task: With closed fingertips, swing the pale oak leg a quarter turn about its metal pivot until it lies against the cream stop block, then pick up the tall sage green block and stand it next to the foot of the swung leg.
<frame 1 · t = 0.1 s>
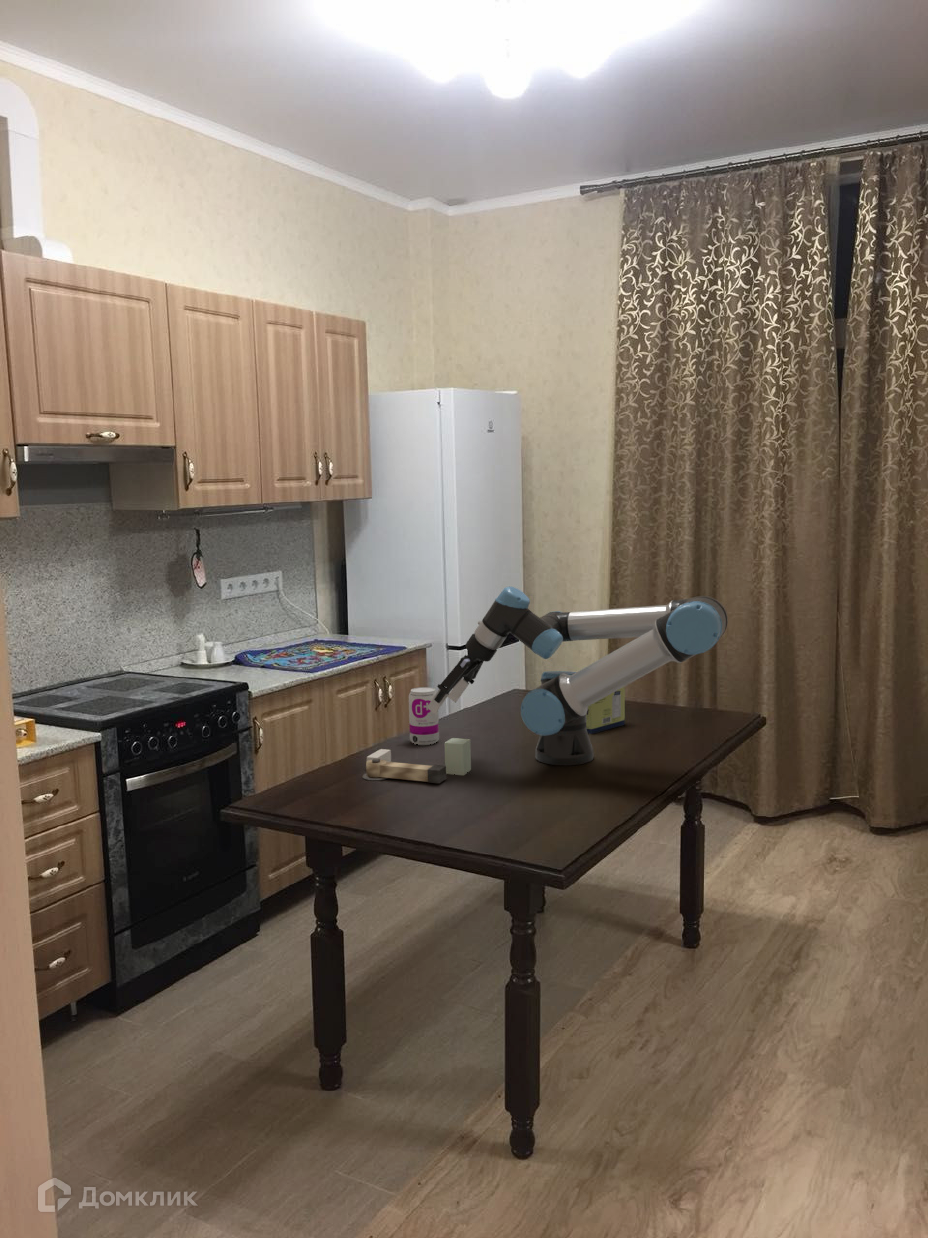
hand: (441, 704, 270), 15 cm above the table, tool tilted 35°, fingers open, 13 cm apart
pivot plate: (376, 776, 261), on the table
tall sage green block: (458, 771, 264), on the table
supplement can: (424, 742, 293), on the table
protein box: (594, 727, 307), on the table
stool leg: (404, 769, 258), point 2 cm above the table, hinge at 0.0°
stop block: (379, 765, 271), on the table
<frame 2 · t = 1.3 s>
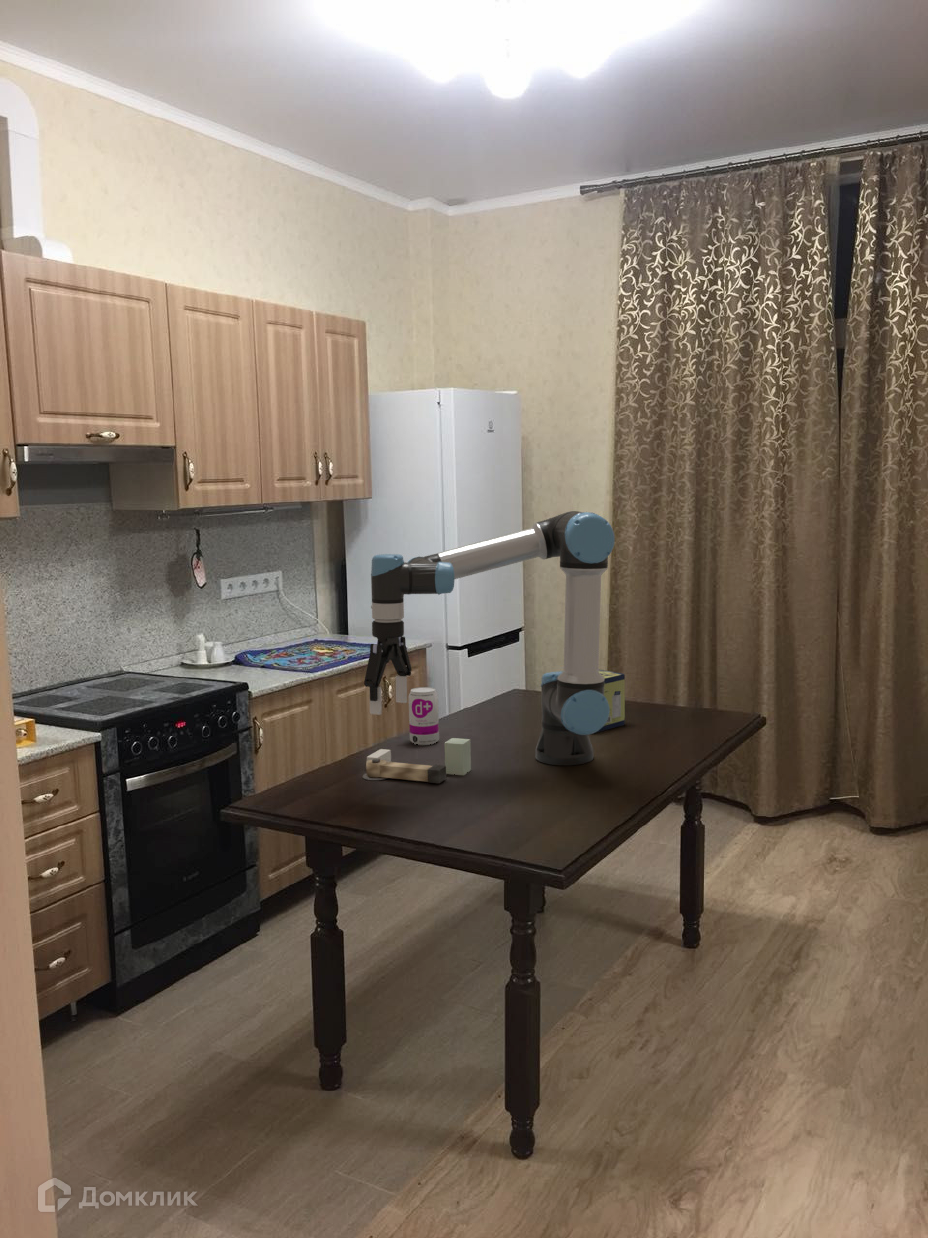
hand: (388, 708, 249), 20 cm above the table, tool pointing down, fingers open, 13 cm apart
nothing on the table moved.
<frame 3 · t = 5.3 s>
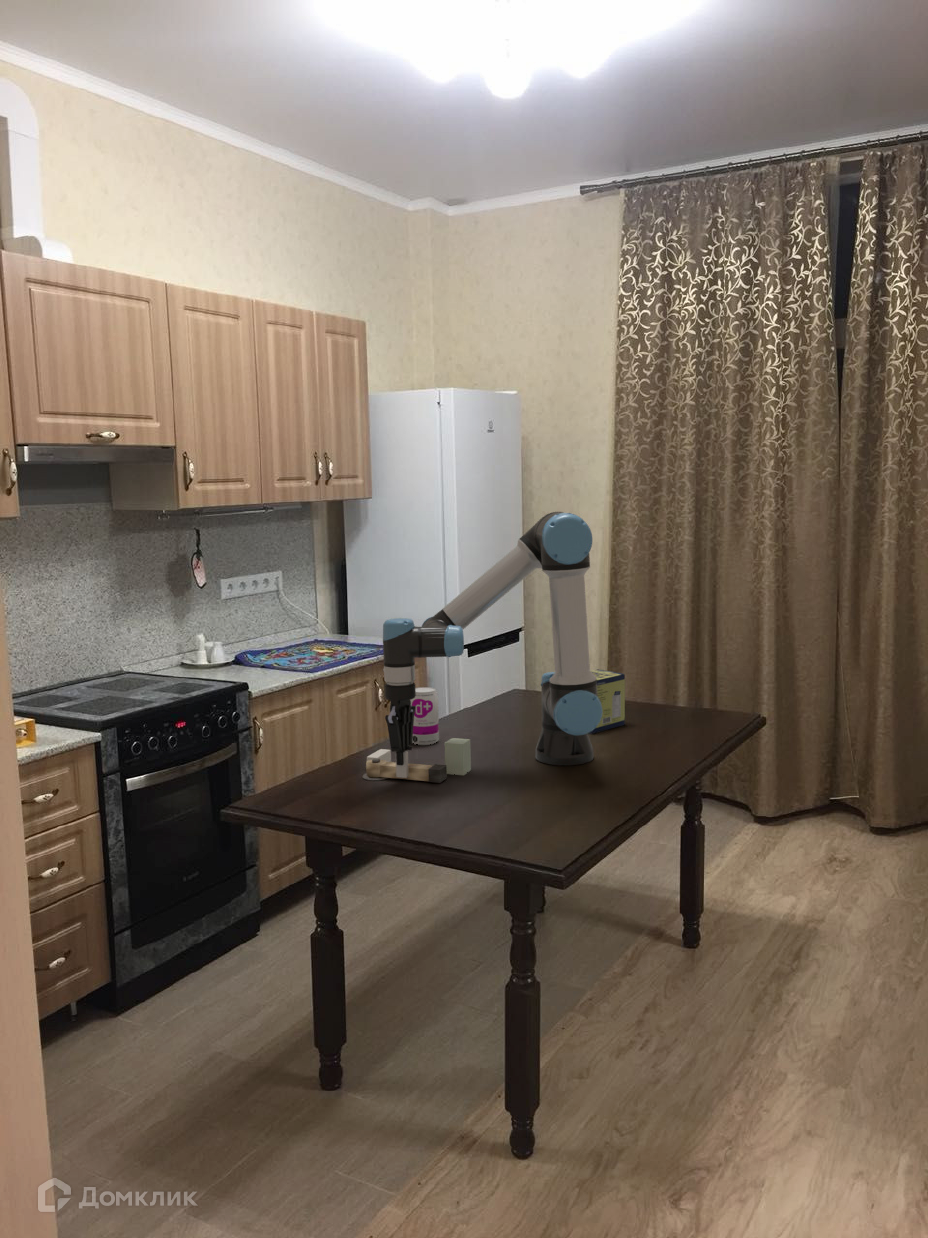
hand: (402, 776, 256), 1 cm above the table, tool pointing down, fingers closed
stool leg: (404, 769, 258), point 2 cm above the table, hinge at 1.7°, touching gripper
everything else where it was.
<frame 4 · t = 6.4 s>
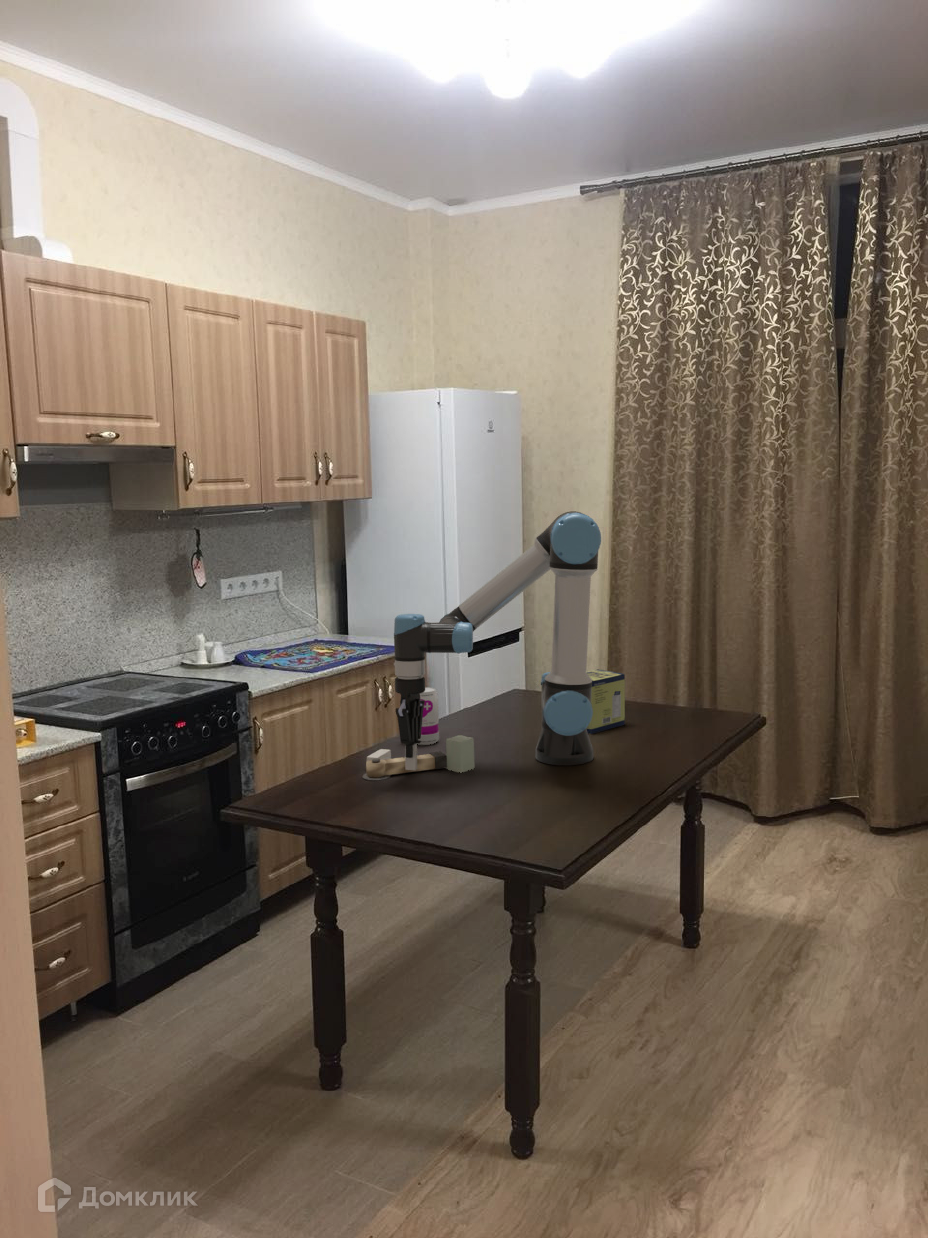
hand: (411, 769, 261), 2 cm above the table, tool pointing down, fingers closed
tall sage green block: (460, 769, 266), on the table
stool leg: (405, 763, 264), point 2 cm above the table, hinge at 43.6°, touching gripper
everything else where it was.
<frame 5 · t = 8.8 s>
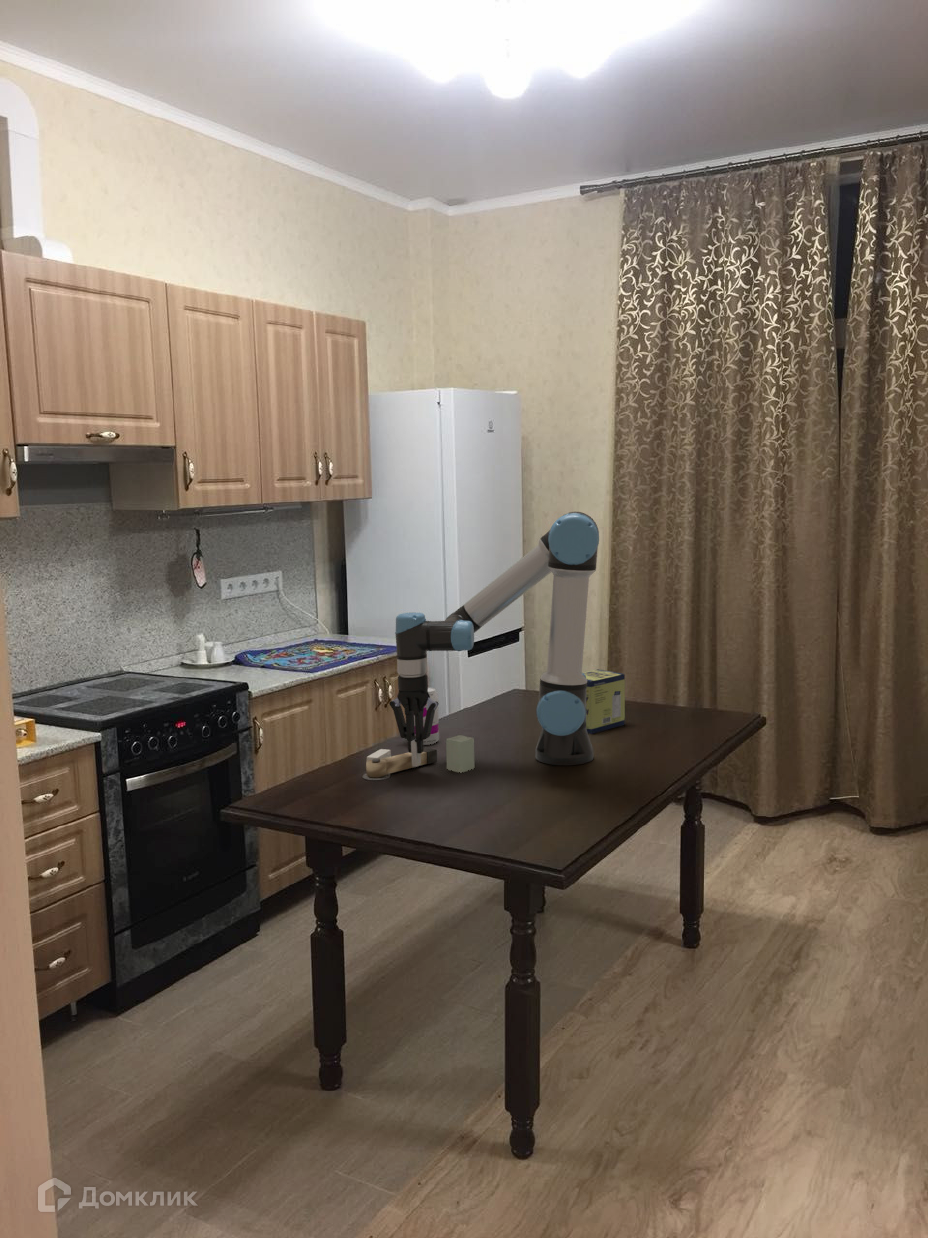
hand: (416, 765, 266), 1 cm above the table, tool pointing down, fingers closed
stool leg: (400, 760, 266), point 2 cm above the table, hinge at 63.7°, touching gripper
everything else where it was.
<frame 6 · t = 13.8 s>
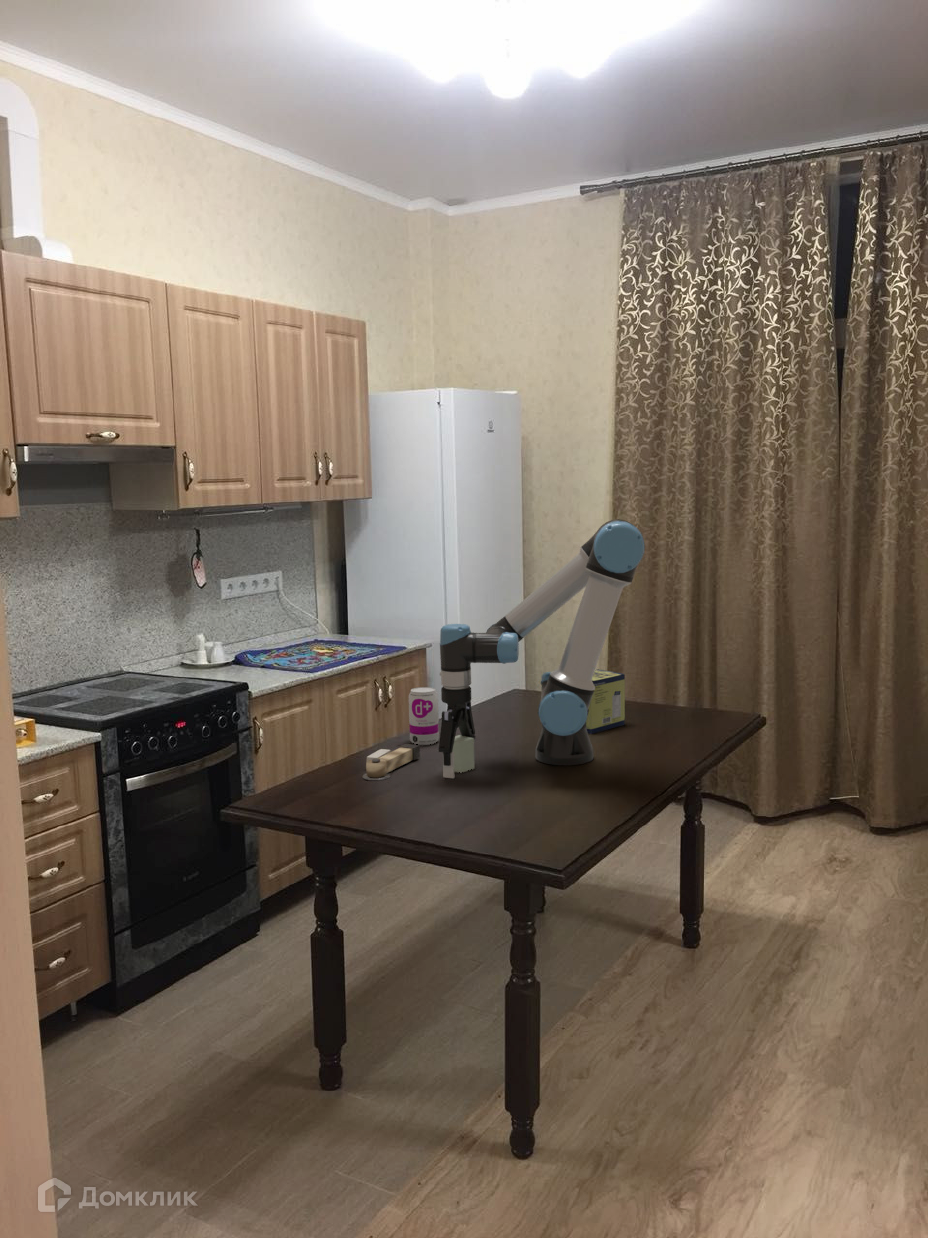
hand: (458, 771, 264), 0 cm above the table, tool pointing down, fingers open, 11 cm apart
tall sage green block: (460, 769, 266), on the table, touching gripper
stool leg: (392, 759, 268), point 2 cm above the table, hinge at 84.5°
everything else where it was.
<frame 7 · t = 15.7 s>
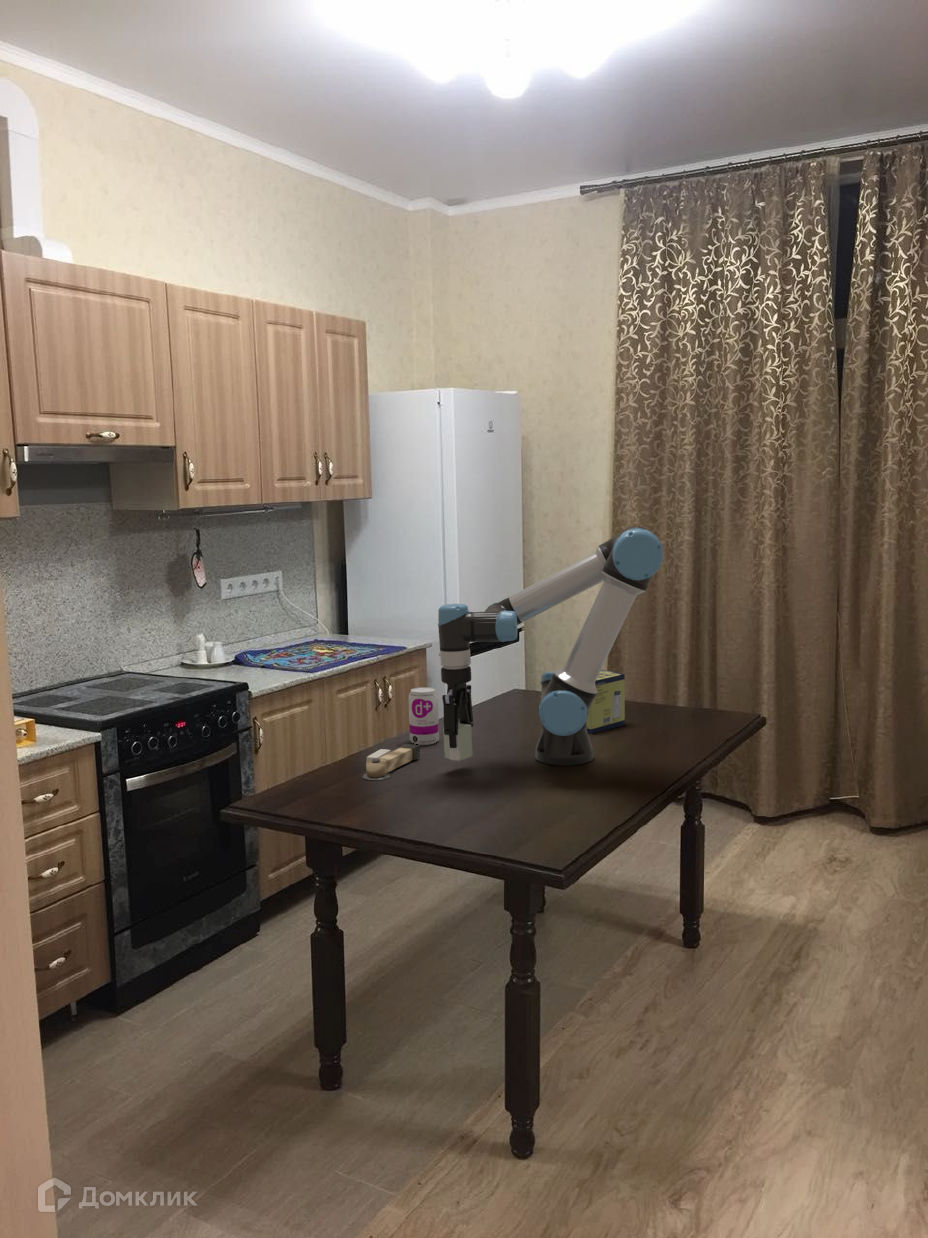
hand: (460, 756, 263), 4 cm above the table, tool pointing down, fingers closed on tall sage green block, 6 cm apart
tall sage green block: (458, 757, 264), point 4 cm above the table, touching gripper
everything else where it was.
when the fingers open (0 cm above the table, at t = 20.4 s): tall sage green block stays where it is, on the table.
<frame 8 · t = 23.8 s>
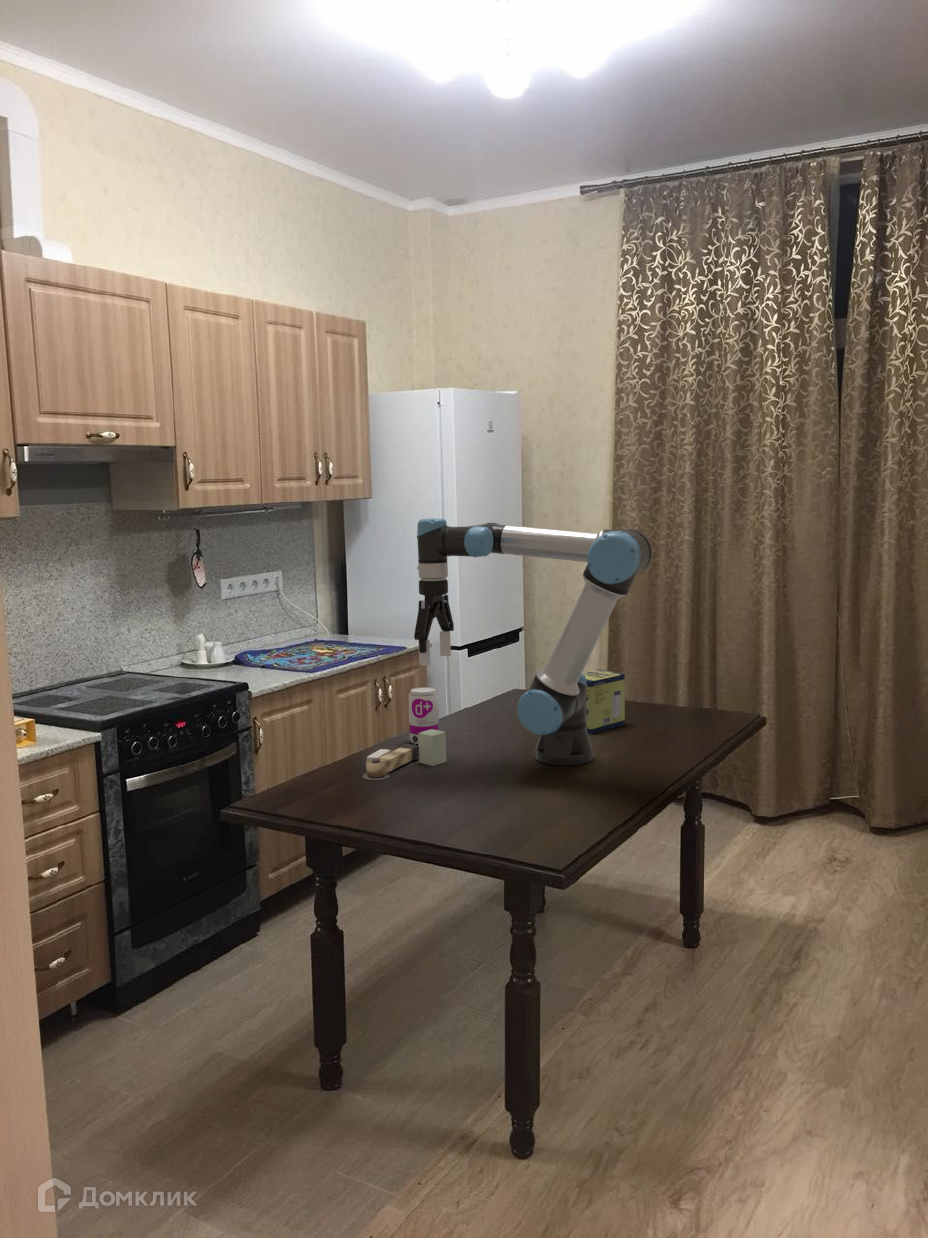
hand: (435, 660, 271), 27 cm above the table, tool pointing down, fingers open, 13 cm apart
tall sage green block: (432, 762, 273), on the table
everything else where it was.
at the end: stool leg at +84° (first picture: +0°); tall sage green block inside the target area (0.6 cm from its centre), on the table; tall sage green block tilted 0° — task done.
